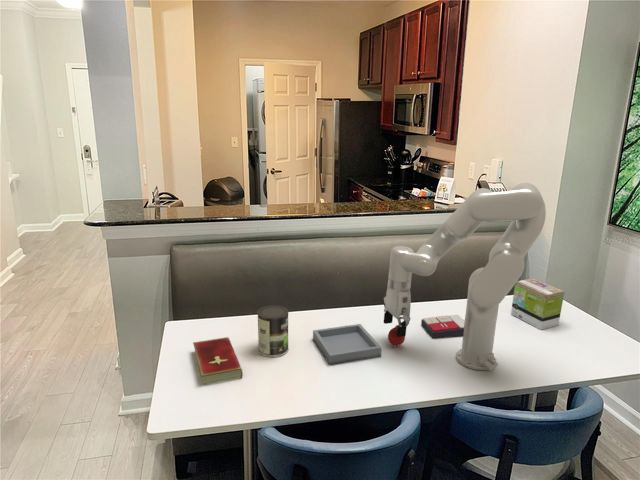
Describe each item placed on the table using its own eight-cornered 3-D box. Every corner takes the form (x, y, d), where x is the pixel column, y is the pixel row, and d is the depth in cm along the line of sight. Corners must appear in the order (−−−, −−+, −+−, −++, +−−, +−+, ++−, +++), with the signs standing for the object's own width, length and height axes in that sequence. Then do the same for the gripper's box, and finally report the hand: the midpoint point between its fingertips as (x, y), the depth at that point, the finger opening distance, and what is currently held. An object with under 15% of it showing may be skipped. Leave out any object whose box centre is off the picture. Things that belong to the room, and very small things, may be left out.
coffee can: (292, 344, 162) (292, 306, 158) (283, 359, 152) (283, 319, 148) (263, 340, 164) (262, 303, 160) (253, 355, 154) (252, 316, 150)
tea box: (509, 314, 188) (514, 280, 183) (527, 310, 192) (532, 277, 188) (540, 330, 174) (546, 294, 170) (559, 326, 179) (565, 290, 174)
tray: (381, 356, 154) (381, 347, 153) (329, 365, 149) (330, 355, 148) (359, 332, 171) (360, 323, 170) (312, 339, 165) (313, 330, 164)
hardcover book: (229, 347, 160) (229, 336, 159) (242, 379, 141) (242, 367, 140) (193, 353, 156) (193, 341, 155) (202, 387, 137) (201, 374, 136)
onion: (399, 352, 157) (400, 330, 155) (384, 347, 161) (385, 325, 159) (407, 345, 162) (408, 324, 160) (392, 340, 165) (393, 320, 163)
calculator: (421, 317, 176) (457, 312, 179) (420, 327, 178) (457, 322, 180) (433, 330, 166) (472, 325, 169) (432, 341, 167) (471, 336, 170)
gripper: (422, 292, 148) (416, 340, 153) (397, 273, 164) (392, 317, 169) (401, 294, 146) (395, 343, 151) (377, 274, 162) (373, 319, 167)
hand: (394, 329), depth 160 cm, fingers open, 9 cm apart
